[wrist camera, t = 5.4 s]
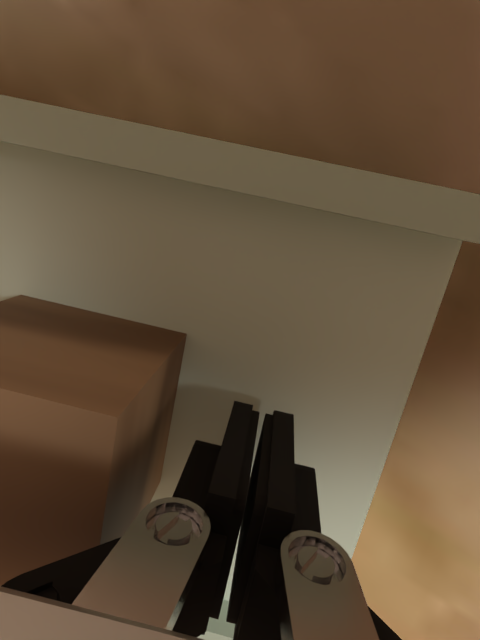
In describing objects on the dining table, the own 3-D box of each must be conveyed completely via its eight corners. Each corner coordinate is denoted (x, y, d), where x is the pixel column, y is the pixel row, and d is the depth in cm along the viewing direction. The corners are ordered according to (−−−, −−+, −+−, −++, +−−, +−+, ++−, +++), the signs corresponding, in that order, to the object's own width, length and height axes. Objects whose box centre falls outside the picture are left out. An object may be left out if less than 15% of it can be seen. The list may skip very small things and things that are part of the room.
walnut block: (20, 294, 12) (-154, 350, 7) (186, 333, 12) (117, 417, 7) (11, 442, 14) (-140, 570, 9) (160, 480, 13) (87, 634, 9)
